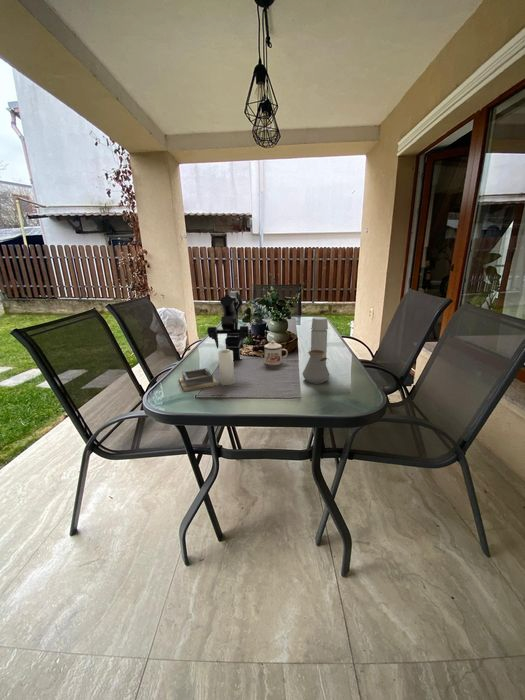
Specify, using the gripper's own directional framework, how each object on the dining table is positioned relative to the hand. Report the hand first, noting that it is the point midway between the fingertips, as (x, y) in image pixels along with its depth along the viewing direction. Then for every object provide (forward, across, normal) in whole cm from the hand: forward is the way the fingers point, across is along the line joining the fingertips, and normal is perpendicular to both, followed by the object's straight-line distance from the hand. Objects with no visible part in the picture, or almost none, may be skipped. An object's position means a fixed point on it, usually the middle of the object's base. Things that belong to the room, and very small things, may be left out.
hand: (227, 347), depth 128 cm
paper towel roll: (+15, 0, +4) cm, 16 cm away
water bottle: (+6, +42, +14) cm, 44 cm away
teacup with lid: (-3, +22, +22) cm, 31 cm away
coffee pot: (+18, +39, +1) cm, 43 cm away
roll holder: (+14, -13, +5) cm, 20 cm away
